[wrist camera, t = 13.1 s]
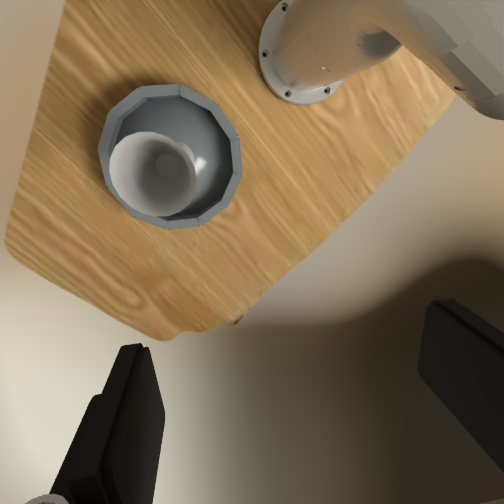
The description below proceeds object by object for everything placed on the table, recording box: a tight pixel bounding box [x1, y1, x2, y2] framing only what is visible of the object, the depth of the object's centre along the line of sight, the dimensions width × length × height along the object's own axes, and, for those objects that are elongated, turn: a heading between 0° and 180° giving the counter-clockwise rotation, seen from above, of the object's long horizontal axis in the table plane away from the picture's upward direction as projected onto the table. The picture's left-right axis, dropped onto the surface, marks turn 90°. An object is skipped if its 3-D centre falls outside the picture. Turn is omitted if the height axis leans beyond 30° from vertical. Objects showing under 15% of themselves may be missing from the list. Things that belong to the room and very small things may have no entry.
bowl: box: [97, 84, 242, 230], centre depth 42 cm, size 18×18×4 cm
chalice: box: [109, 132, 197, 217], centre depth 34 cm, size 7×7×18 cm
